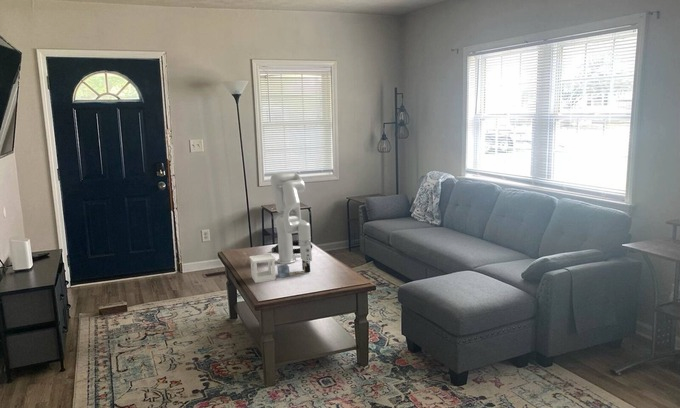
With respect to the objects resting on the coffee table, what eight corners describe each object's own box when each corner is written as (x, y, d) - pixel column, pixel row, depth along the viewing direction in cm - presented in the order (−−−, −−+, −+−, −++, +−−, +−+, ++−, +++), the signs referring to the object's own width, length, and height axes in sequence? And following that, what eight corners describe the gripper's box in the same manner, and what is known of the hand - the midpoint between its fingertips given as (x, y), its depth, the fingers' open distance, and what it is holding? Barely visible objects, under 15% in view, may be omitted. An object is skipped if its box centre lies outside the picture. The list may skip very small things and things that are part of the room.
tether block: (307, 270, 327) (307, 261, 326) (310, 273, 321) (309, 263, 320) (277, 275, 321) (277, 265, 320) (280, 277, 315) (279, 268, 314)
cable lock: (317, 246, 374) (277, 251, 363) (318, 251, 375) (277, 257, 363) (304, 238, 399) (266, 243, 388) (305, 243, 400) (267, 248, 389)
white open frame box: (271, 274, 323) (270, 253, 321) (276, 279, 311) (275, 258, 309) (250, 277, 318) (249, 256, 316) (254, 283, 306) (253, 261, 304)
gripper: (314, 244, 314) (316, 273, 317) (306, 238, 330) (308, 266, 333) (302, 246, 311) (304, 275, 314) (295, 240, 327) (296, 268, 330)
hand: (306, 270), depth 323 cm, fingers open, 4 cm apart
